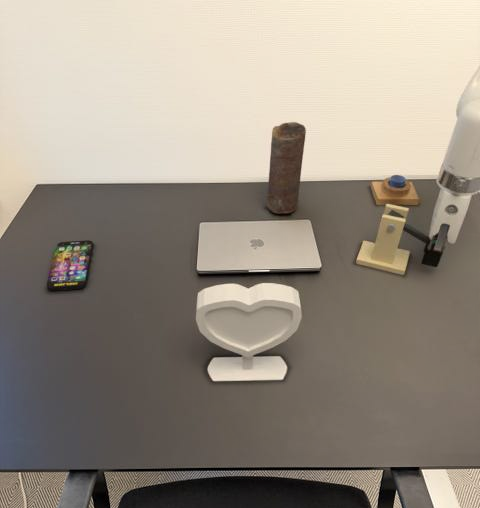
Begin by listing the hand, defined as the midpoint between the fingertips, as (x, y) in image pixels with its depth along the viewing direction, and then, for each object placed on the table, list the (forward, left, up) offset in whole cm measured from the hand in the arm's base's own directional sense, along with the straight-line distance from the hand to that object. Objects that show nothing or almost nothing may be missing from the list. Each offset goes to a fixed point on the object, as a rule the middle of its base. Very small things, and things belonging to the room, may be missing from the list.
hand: (430, 258), depth 95 cm
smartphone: (+69, +27, -3) cm, 74 cm away
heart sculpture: (+25, +38, -3) cm, 46 cm away
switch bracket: (+9, 0, -3) cm, 10 cm away
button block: (+11, -26, -3) cm, 28 cm away
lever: (+5, 0, +4) cm, 6 cm away
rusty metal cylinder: (+35, -10, -3) cm, 37 cm away
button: (+11, -26, 0) cm, 28 cm away
